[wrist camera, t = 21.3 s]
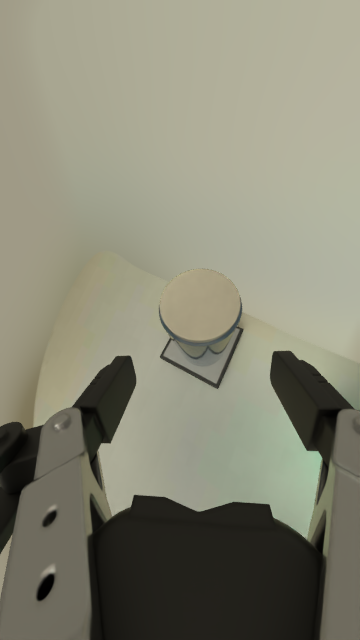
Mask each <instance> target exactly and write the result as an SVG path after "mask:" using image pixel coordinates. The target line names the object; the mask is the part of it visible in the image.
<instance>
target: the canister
mask: <svg viewBox="0 0 360 640" xmlns="http://www.w3.org/2000/svg"><path fill="white" fill-rule="evenodd" d="M241 314H242V303H241V298H240V295H239V293H238V290H237V288H236V287H235V285H234V284H233V283H232V281H231V280H230V279H228V278H227V277H226V276H224V275H223V274H221V273H219V272H216V271H213V270H209V269H193V270H189V271H186V272H184V273H181V274H179V275H178V276H176V277H175V278H173V279H172V280H171V281H170V282H169V283H168V284H167V286H166V287H165V289H164V291H163V293H162V295H161V298H160V304H159V316H160V320H161V323H162V325H163V327H164V329H165V330H166V332H167V333H168V335H169V336H170V338H171V339H172V341H173V342H174V343H175V345H176V346H177V348H178V349H179V351H180V352H181V354H182V355H183V357H184V358H185V359H186V360H187V361H188V362H190V363H191V364H193V365H196V366H202V367H204V366H210V365H212V364H215V363H216V362H218V361H219V360H220V359H221V357H222V356H223V354H224V352H225V350H226V348H227V346H228V344H229V342H230V340H231V338H232V336H233V334H234V332H235V330H236V327H237V325H238V323H239V321H240V318H241Z"/></svg>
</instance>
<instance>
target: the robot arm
mask: <svg viewBox="0 0 360 640" xmlns="http://www.w3.org/2000/svg"><path fill="white" fill-rule="evenodd" d="M270 380H271V384H272V386H273V388H274V390H275V392H276V394H277V396H278V398H279V400H280V401H281V403H282V405H283V407H284V409H285V411H286V413H287V414H288V416H289V418H290V420H291V422H292V424H293V426H294V428H295V429H296V431H297V433H298V435H299V437H300V439H301V441H302V443H303V444H304V446H305V448H306V450H307V451H319V453H320V455H321V456H322V461H321V466H320V472H319V478H318V485H317V491H316V498H315V504H314V510H313V515H312V519H311V523H310V527H309V531H308V536H307V540H306V539H305V538H304V537H303V536H302V535H301V534H299V533H298V532H297V531H295V530H294V529H292V528H291V527H290V526H288V525H286V524H284V523H283V522H281V521H279V520H277V519H275V518H273V516H272V512H271V509H270V505H269V504H256V503H242V502H232V503H228V504H225V505H222V506H218V507H215V508H212V509H208V510H205V511H201V512H197V511H194V510H192V509H190V508H188V507H186V506H183V505H181V504H179V503H177V502H175V501H172V500H170V499H168V498H166V497H155V496H141V495H134V497H133V501H132V505H131V507H130V508H127V509H125V510H123V511H121V512H119V513H117V514H116V515H114V516H113V517H112V514H111V510H110V507H109V504H108V501H107V497H106V492H105V486H104V480H103V474H102V468H101V462H100V457H99V452H98V449H99V447H100V445H101V443H111V441H112V439H113V436H114V434H115V432H116V430H117V427H118V425H119V423H120V420H121V418H122V416H123V414H124V411H125V409H126V407H127V404H128V402H129V400H130V398H131V395H132V393H133V391H134V389H135V386H136V374H135V370H134V366H133V362H132V358H131V357H130V356H116V357H115V359H114V360H113V361H112V363H111V364H110V365H107V366H106V367H104V368H103V369H102V370H100V371H99V373H98V374H97V375H96V377H95V379H93V380H92V382H91V383H90V385H89V386H88V387H87V388H86V389H85V391H84V392H83V393H82V395H81V396H80V397H79V398H78V400H77V401H76V402H75V404H74V405H73V406H72V407H71V408H67V409H64V410H61V411H59V412H58V413H56V414H55V415H53V416H52V417H51V418H50V419H49V420H48V421H47V422H46V423H45V424H44V425H41V426H38V427H34V428H31V429H27V430H25V429H24V427H23V426H22V424H21V423H19V422H11V423H8V424H5V425H3V426H1V427H0V554H1V552H2V550H3V549H4V547H5V545H6V544H7V542H8V540H9V539H10V537H11V535H12V534H13V536H12V542H11V546H10V551H9V556H8V562H7V567H6V572H5V577H4V583H3V588H2V593H1V598H0V640H360V411H359V410H355V409H354V408H353V407H352V406H351V405H350V404H349V403H348V402H347V401H346V400H345V399H344V398H343V397H342V396H341V395H340V393H339V392H338V391H337V390H336V389H335V388H334V387H333V386H332V385H331V384H330V383H328V382H327V380H326V379H325V378H324V377H323V376H321V374H320V373H319V372H318V371H317V370H316V369H315V368H314V367H313V366H312V365H310V364H308V363H307V362H305V361H303V360H298V358H297V357H296V356H295V355H294V354H293V353H292V352H291V351H274V352H273V355H272V363H271V371H270Z"/></svg>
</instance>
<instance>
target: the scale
mask: <svg viewBox="0 0 360 640" xmlns="http://www.w3.org/2000/svg"><path fill="white" fill-rule="evenodd" d="M242 332H243V329H242V328H239V327H236V330H235V332H234V334H233V336H232V338H231V340H230V342H229V344H228V346H227V348H226V350H225V352H224V354H223V356H222V357H221V359H220V360H219V361H218V362H216V363H215V364H212V365H210V366H204V367H202V366H196V365H193V364H191V363H190V362H188V361H187V360H186V359H185V358H184V357H183V355H182V354H181V352H180V351H179V349H178V348H177V346H176V345H175V343H174V342H173V341H172V339H171V338H170V339H169V341H168V343H167V345H166V347H165V348H164V350H163V352H162V354H161V356H160V358H161V359H163V360H165V361H167V362H169V363H171V364H172V365H174V366H176V367H178V368H180V369H182V370H184V371H185V372H187V373H189V374H191V375H193V376H195V377H196V378H198V379H200V380H202V381H204V382H206V383H207V384H209V385H211V386H213V387H215V388H217V389H218V388H219V385H220V383H221V381H222V378H223V376H224V374H225V372H226V369H227V367H228V365H229V362H230V360H231V358H232V355H233V353H234V351H235V348H236V346H237V344H238V341H239V339H240V337H241V334H242Z"/></svg>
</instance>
